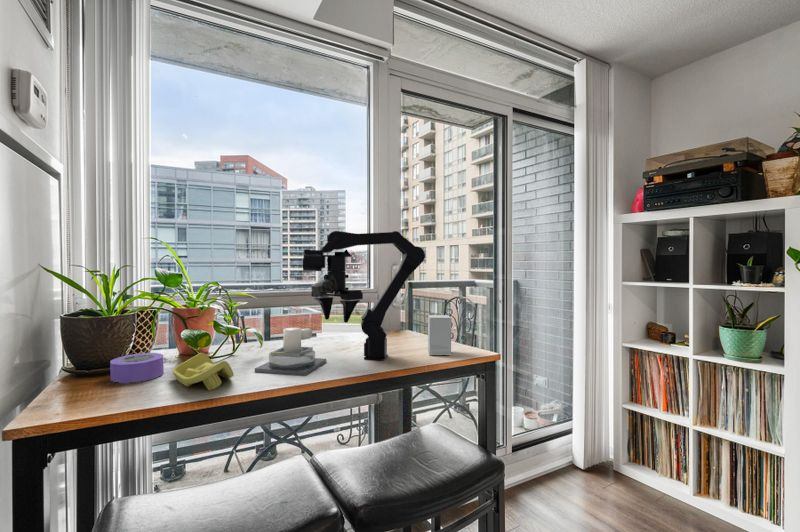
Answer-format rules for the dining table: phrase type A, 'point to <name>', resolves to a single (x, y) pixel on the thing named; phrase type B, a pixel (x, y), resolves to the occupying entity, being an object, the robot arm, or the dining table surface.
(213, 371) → the plastic component
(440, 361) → the dining table surface
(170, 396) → the dining table surface
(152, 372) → the tape roll
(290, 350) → the elbow fitting
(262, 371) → the duct stub
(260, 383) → the dining table surface
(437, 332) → the supplement box
